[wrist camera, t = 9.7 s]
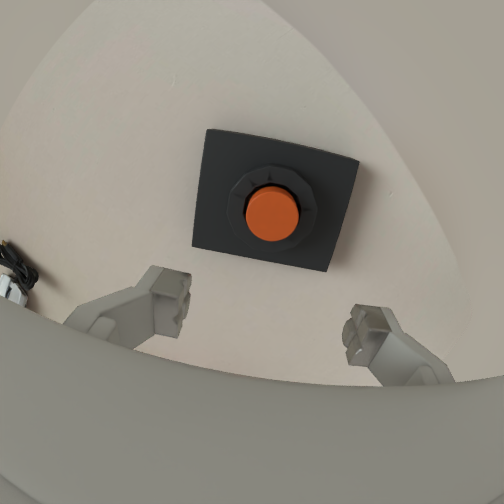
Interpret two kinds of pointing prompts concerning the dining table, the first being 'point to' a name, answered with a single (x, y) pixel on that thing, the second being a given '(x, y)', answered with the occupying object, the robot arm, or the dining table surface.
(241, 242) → the button box
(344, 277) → the dining table surface
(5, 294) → the computer mouse
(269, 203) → the button
